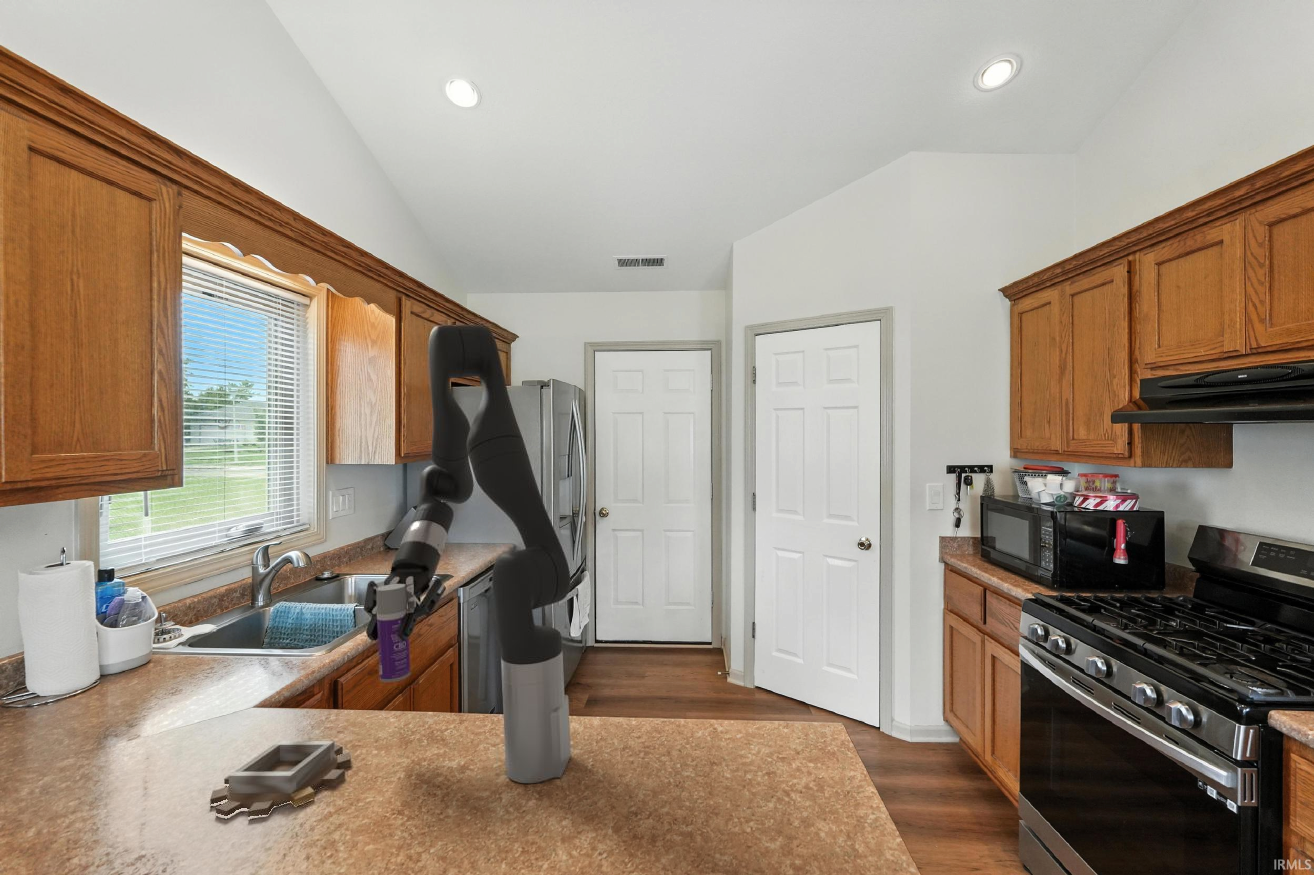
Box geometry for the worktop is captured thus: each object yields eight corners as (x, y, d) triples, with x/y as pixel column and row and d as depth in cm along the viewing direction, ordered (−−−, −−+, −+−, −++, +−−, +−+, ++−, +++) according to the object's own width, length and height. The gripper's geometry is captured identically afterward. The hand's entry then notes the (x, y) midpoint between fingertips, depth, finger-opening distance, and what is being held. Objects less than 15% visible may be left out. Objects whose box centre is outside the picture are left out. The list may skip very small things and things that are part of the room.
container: (398, 683, 92) (394, 590, 92) (373, 682, 93) (369, 590, 93) (416, 671, 96) (412, 583, 97) (392, 670, 97) (388, 583, 98)
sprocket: (373, 751, 94) (373, 728, 94) (298, 820, 76) (297, 792, 76) (274, 751, 95) (273, 729, 95) (177, 819, 78) (177, 792, 78)
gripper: (375, 540, 103) (334, 628, 91) (450, 537, 102) (419, 626, 89) (392, 563, 108) (356, 649, 96) (464, 561, 107) (436, 647, 95)
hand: (386, 637), depth 93 cm, fingers closed on container, 4 cm apart
